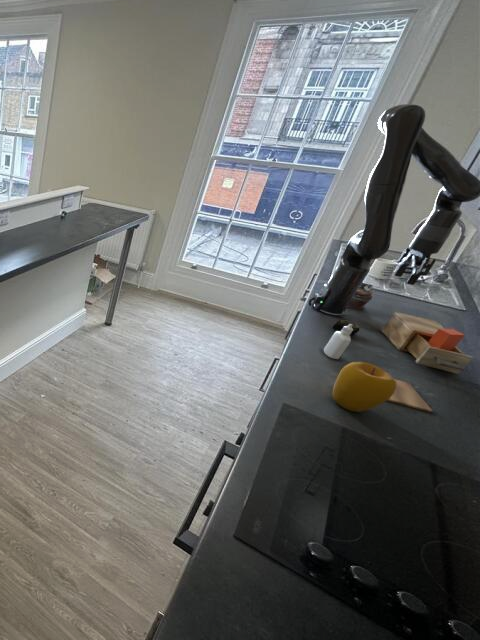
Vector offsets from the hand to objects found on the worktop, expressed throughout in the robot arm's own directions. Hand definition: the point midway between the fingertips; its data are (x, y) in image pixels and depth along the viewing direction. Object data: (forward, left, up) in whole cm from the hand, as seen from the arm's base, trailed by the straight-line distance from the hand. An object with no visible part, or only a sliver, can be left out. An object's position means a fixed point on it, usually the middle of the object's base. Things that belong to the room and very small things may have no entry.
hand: (403, 280), depth 149 cm
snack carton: (+6, -27, -16) cm, 32 cm away
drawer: (+6, -28, -17) cm, 33 cm away
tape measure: (-15, -19, -19) cm, 31 cm away
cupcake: (-3, +15, -19) cm, 24 cm away
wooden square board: (-13, -55, -18) cm, 59 cm away
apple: (-29, -71, -19) cm, 79 cm away
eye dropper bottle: (-25, -41, -19) cm, 51 cm away
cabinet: (+6, -15, -18) cm, 24 cm away
